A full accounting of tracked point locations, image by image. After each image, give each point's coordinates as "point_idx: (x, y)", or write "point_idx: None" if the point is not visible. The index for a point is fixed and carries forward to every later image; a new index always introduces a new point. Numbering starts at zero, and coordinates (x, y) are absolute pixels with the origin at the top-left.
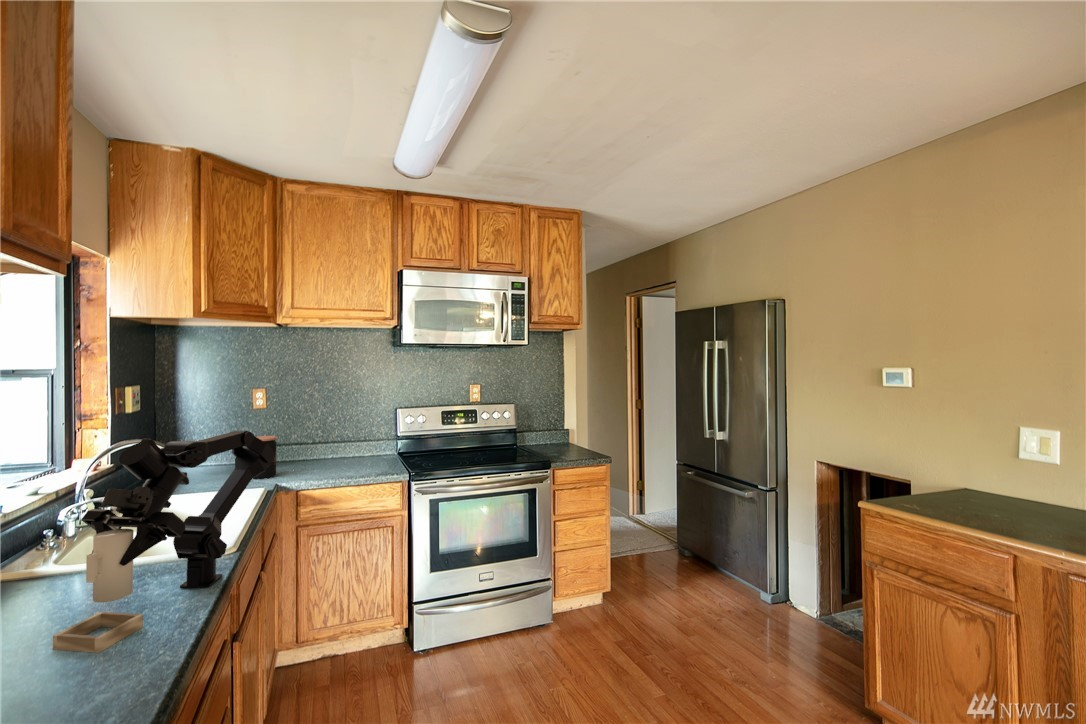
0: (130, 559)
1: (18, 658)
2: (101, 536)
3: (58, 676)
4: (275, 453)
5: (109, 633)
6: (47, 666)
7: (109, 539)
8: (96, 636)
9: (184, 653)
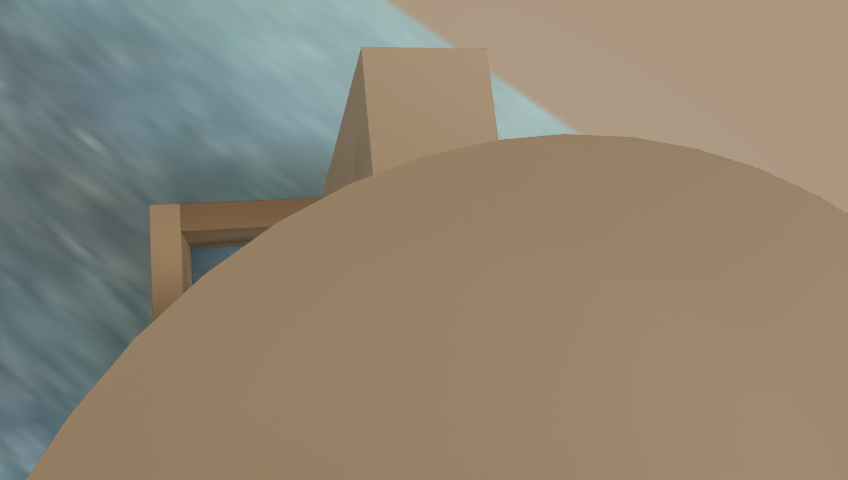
0: None
1: (511, 123)
2: (729, 351)
3: (154, 23)
4: None
5: (152, 278)
6: (302, 85)
7: (248, 266)
8: (192, 225)
9: None
